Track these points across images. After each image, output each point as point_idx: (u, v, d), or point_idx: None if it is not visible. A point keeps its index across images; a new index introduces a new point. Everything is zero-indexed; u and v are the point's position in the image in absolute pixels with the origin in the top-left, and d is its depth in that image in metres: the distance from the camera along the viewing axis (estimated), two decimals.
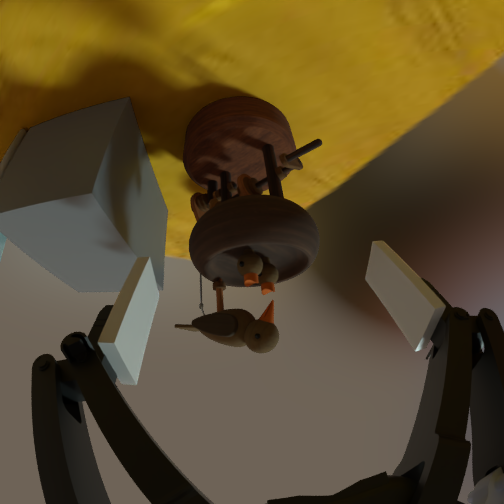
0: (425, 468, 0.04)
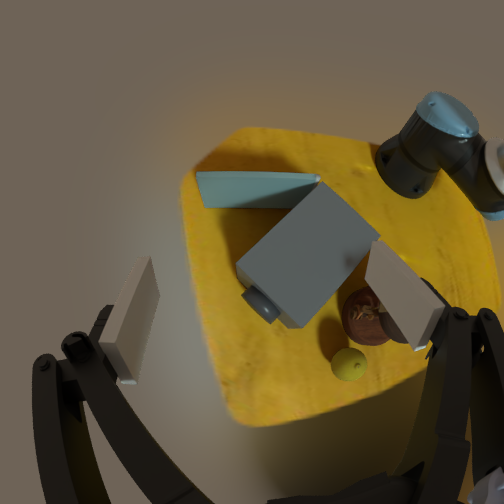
0: (425, 468, 0.04)
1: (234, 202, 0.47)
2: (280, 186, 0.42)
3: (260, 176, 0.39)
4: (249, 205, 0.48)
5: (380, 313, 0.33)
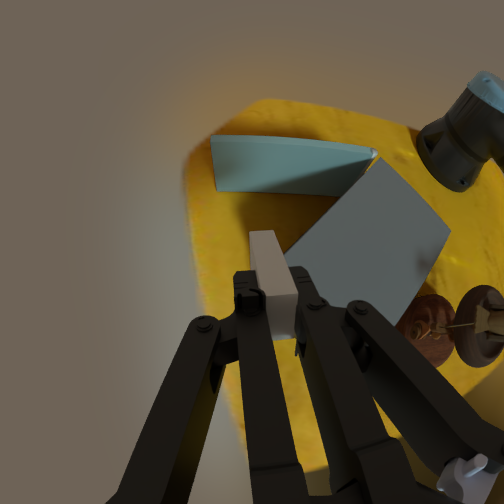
0: (362, 487, 0.04)
1: (258, 184, 0.35)
2: (325, 161, 0.29)
3: (301, 144, 0.27)
4: (277, 189, 0.36)
5: (459, 332, 0.20)
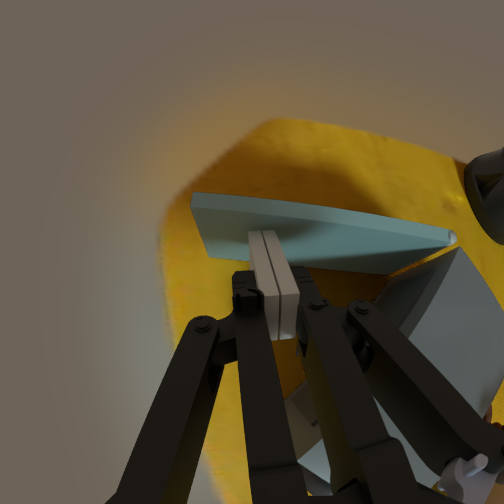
0: (363, 486, 0.04)
1: None
2: (380, 244, 0.18)
3: (351, 223, 0.16)
4: (296, 263, 0.25)
5: None
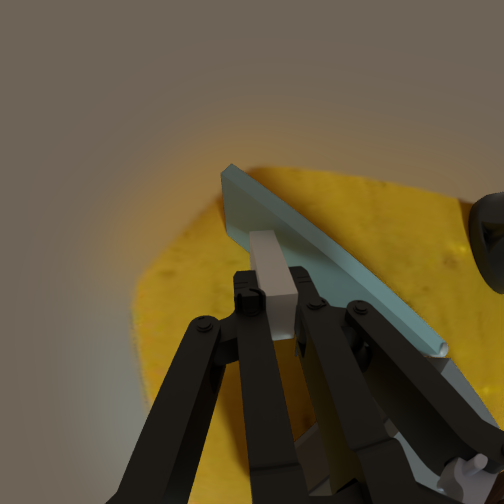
0: (362, 487, 0.04)
1: None
2: None
3: (350, 272, 0.15)
4: None
5: None
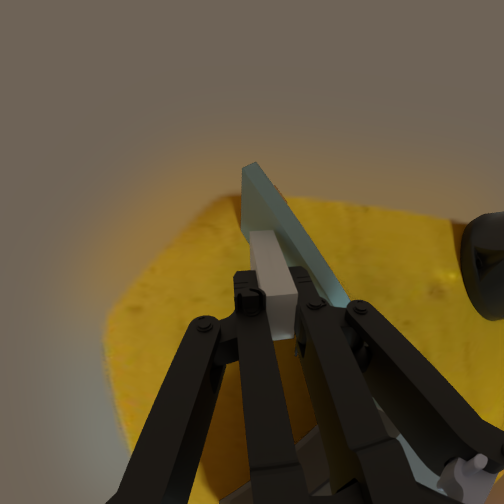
0: (362, 487, 0.04)
1: None
2: None
3: (333, 301, 0.14)
4: None
5: None
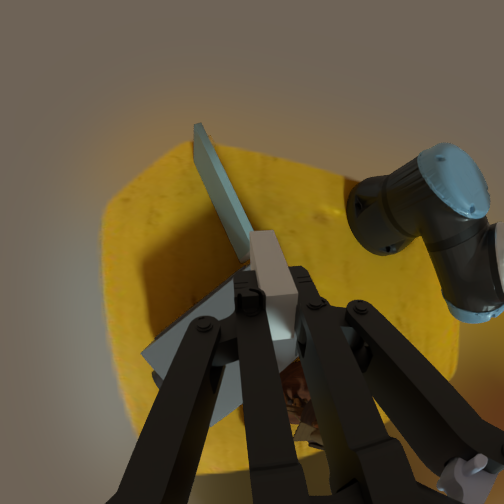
0: (362, 487, 0.04)
1: (206, 183, 0.40)
2: (231, 214, 0.34)
3: (223, 183, 0.32)
4: (213, 201, 0.41)
5: (301, 421, 0.28)
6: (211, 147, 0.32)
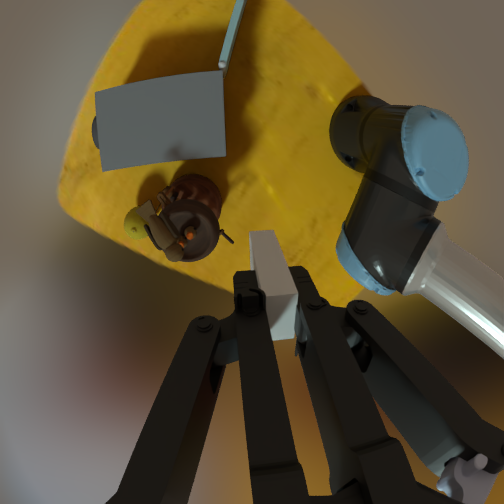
0: (362, 487, 0.04)
1: None
2: None
3: (234, 10, 0.25)
4: None
5: (161, 211, 0.36)
6: None
